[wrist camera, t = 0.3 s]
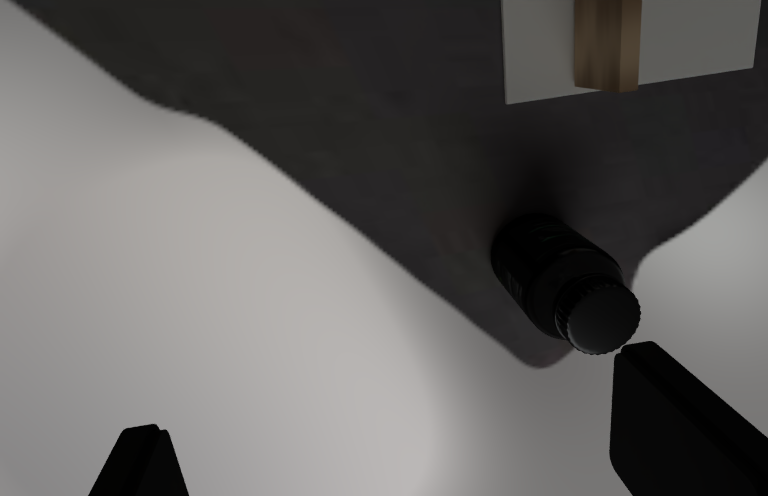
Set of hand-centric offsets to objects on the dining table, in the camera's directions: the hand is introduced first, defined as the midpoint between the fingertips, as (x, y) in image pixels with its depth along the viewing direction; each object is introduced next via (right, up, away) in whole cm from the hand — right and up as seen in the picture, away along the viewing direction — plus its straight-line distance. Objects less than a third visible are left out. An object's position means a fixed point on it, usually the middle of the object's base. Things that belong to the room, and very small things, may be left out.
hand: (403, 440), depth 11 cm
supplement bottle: (+12, +4, +32) cm, 34 cm away
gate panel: (+13, +21, +25) cm, 35 cm away
